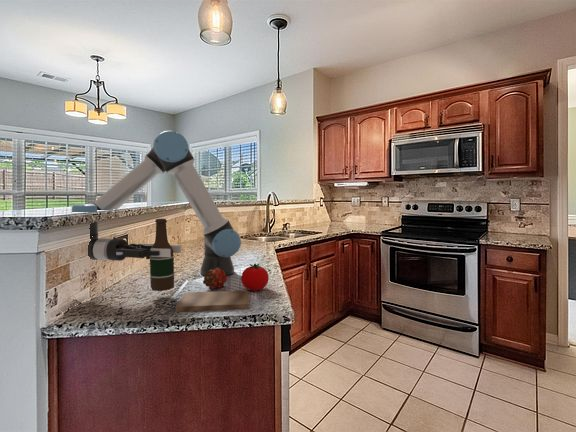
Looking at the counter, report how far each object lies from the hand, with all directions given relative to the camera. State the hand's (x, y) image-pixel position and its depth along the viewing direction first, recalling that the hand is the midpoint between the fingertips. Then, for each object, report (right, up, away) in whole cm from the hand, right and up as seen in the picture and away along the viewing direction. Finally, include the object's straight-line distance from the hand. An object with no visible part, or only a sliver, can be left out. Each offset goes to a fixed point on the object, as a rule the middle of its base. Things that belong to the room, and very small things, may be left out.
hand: (175, 250), depth 103 cm
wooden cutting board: (+14, -17, -3) cm, 22 cm away
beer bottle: (-5, -13, +1) cm, 14 cm away
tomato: (+26, -16, +12) cm, 33 cm away
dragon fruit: (+10, -16, +14) cm, 24 cm away
